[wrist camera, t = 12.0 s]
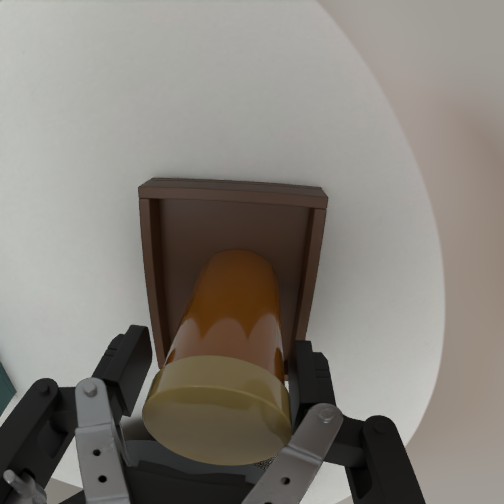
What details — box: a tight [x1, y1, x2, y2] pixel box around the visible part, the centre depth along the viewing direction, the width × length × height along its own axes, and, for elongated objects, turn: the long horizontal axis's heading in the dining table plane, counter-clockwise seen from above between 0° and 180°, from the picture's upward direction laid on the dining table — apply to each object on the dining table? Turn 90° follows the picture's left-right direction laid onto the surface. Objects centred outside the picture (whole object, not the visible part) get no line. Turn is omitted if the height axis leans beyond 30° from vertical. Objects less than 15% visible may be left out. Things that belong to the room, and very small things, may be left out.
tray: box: [138, 178, 328, 381], centre depth 18 cm, size 12×9×2 cm
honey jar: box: [142, 249, 293, 466], centre depth 14 cm, size 5×5×10 cm
